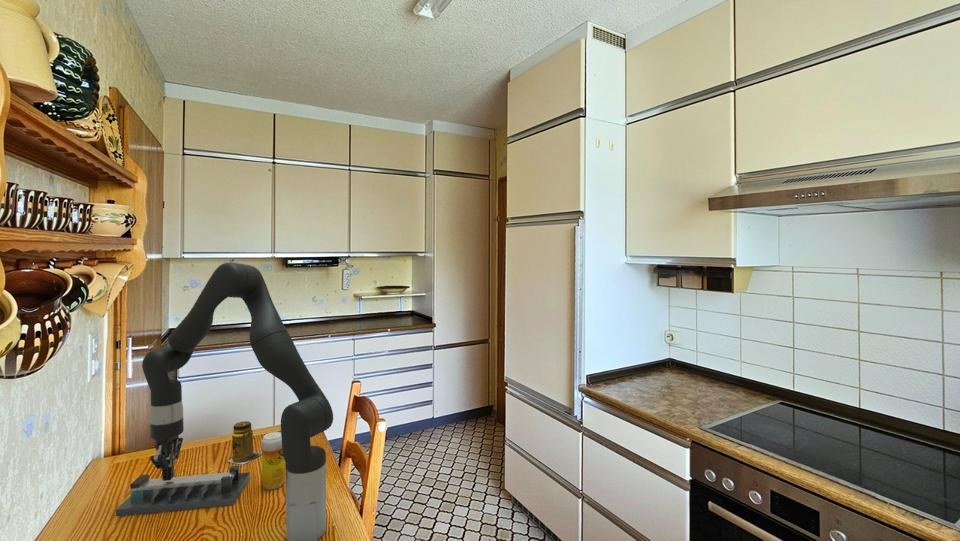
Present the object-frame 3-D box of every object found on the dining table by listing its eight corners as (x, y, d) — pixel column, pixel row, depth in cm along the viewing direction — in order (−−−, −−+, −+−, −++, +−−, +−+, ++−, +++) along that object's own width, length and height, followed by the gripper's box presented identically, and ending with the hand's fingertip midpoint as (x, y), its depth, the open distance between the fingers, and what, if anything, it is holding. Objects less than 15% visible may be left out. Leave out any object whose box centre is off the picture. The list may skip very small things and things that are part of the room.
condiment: (226, 461, 141) (225, 426, 141) (248, 450, 149) (247, 417, 148) (242, 465, 138) (242, 429, 138) (263, 454, 146) (263, 419, 146)
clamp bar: (230, 484, 120) (230, 475, 120) (130, 493, 115) (130, 484, 115) (236, 475, 125) (236, 466, 125) (141, 483, 120) (141, 475, 120)
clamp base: (233, 505, 116) (233, 483, 116) (116, 516, 111) (115, 494, 111) (250, 478, 130) (249, 459, 130) (146, 488, 125) (146, 468, 124)
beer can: (275, 491, 123) (275, 440, 123) (257, 489, 125) (257, 438, 124) (289, 480, 129) (288, 432, 129) (271, 478, 130) (271, 430, 130)
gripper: (169, 426, 113) (171, 490, 114) (192, 409, 126) (193, 466, 126) (137, 428, 111) (139, 493, 112) (164, 410, 124) (165, 468, 125)
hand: (168, 479), depth 119 cm, fingers closed
